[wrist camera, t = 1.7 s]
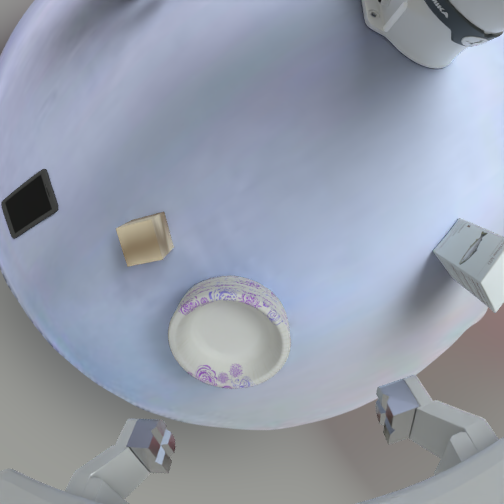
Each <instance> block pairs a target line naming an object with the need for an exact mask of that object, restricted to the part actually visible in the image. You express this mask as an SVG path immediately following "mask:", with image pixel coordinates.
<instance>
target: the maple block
mask: <svg viewBox="0 0 504 504" xmlns="http://www.w3.org/2000/svg"><path fill="white" fill-rule="evenodd" d="M116 231H117V234H118V238H119V241H120V244H121V247H122V251H123V254H124V257H125V260H126V263H127V266H128V267H129V266H134V265H139V264H143V263H148V262H153V261H158V260H163V259H164V258H165V257H166V256H167V254H168V253H169V252H170V251H171V250H172V249H173V248H174V246H173V242H172V239H171V235H170V232H169V228H168V224H167V221H166V217H165V213H164V212H161V213H157V214H153V215H149V216H145V217H142V218H138V219H134V220H131V221H129V222H127V223H125V224H124V225H122V226H120V227H118V228H116Z"/></svg>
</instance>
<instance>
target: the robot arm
mask: <svg viewBox="0 0 504 504" xmlns="http://www.w3.org/2000/svg"><path fill="white" fill-rule="evenodd" d="M361 1H362V7H363V13H364V19H365V23H366V25H367V26H368V27H369V28H371V29H372V30H374V31H375V32H377V33H379V34H381V35H383V36H385V37H386V38H387V39H388V40H389V41H390V42H391V43H392V44H393V45H394V46H395V47H396V48H397V49H398V50H399V51H400V52H401V53H403V54H404V55H405V56H406V57H408V58H409V59H411V60H412V61H414V62H416V63H418V64H420V65H422V66H425V67H429V68H436V69H437V68H444V67H446V66H448V65H450V64H451V63H452V61H453V60H454V59H455V58H456V57H457V56H458V55H459V54H460V53H461V52H462V51H464V50H465V49H466V48H468V47H471V46H477V45H480V44H483V43H486V42H487V41H489V40H492V39H494V38H496V37H498V36H500V35H501V34H502V33H503V31H504V0H361ZM371 14H372V15H374V16H375V17H373V16H372V15H371ZM376 394H377V397H378V400H377V402H376V414H377V418H378V421H379V423H380V424H381V425H383V426H384V431H383V433H384V435H385V438H386V440H387V443H388V444H393V443H395V442H398V441H402V440H405V439H408V438H409V439H410V440H412V441H413V442H415V443H417V444H418V445H420V446H421V447H423V448H424V449H426V450H428V451H429V452H431V453H432V454H434V455H436V456H437V457H439V458H441V460H440V462H439V464H438V466H437V468H436V470H435V472H434V474H435V476H432V477H430V478H428V479H426V480H423V481H421V482H418V483H416V484H413V485H411V486H408V487H406V488H403V489H400V490H398V491H395V492H392V493H389V494H386V495H383V496H380V497H377V498H373V499H370V500H367V501H363V502H360V503H356V504H504V437H503V438H501V439H498V437H497V436H496V434H495V433H494V431H493V430H492V428H491V427H490V426H489V424H488V423H487V421H486V420H485V419H484V418H482V417H479V416H477V415H474V414H472V413H469V412H466V411H463V410H461V409H458V408H456V407H453V406H451V405H448V404H445V403H443V402H440V401H438V400H435V401H433V400H432V399H431V397H430V396H429V394H428V392H427V391H426V389H425V388H424V387H423V385H422V383H421V382H420V380H419V379H418V378H417V376H416V375H412V376H409V377H406V378H403V379H400V380H397V381H394V382H392V383H389V384H386V385H382V386H379V387H378V388H377V393H376ZM166 427H167V425H166V423H165V422H164V420H154V419H153V420H152V419H131V418H130V419H128V420H127V421H126V423H125V425H124V427H123V429H122V431H121V434H120V436H119V438H118V440H117V442H116V444H115V446H111V447H109V448H108V449H106V450H105V451H104V452H102V453H101V454H99V455H98V456H96V457H95V458H94V459H92V460H91V461H89V462H88V463H86V464H85V465H83V466H82V467H80V468H79V469H77V470H76V471H75V472H74V474H73V476H72V478H71V480H70V482H69V484H68V486H67V488H66V490H65V491H62V490H59V489H56V488H54V487H51V486H49V485H46V484H44V483H42V482H39V481H37V480H35V479H33V478H30V477H28V476H26V475H24V474H22V473H20V472H18V471H16V470H13V469H6V470H3V471H1V472H0V504H129V503H128V502H127V501H125V500H124V499H125V498H126V497H127V496H128V495H129V494H130V493H131V492H132V491H133V490H134V489H135V488H136V487H137V486H138V485H139V484H140V483H141V482H142V481H143V480H144V479H145V478H146V477H147V476H148V475H149V474H150V472H152V473H169V470H170V466H171V463H172V460H171V459H170V456H171V455H172V454H173V453H174V451H175V439H174V436H173V434H172V433H171V432H170V431H168V430H166Z"/></svg>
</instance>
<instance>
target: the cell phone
mask: <svg viewBox="0 0 504 504" xmlns="http://www.w3.org/2000/svg"><path fill="white" fill-rule="evenodd" d="M1 205H2V209H3V213H4V216H5V219H6V222H7V225H8V228H9V231H10V234H11V236H12V238H16V237H18V236H19V235H21V234H22V233H24V232H25V231H27V230H28V229H30V228H31V227H33V226H35V225H36V224H38V223H39V222H41V221H42V220H44V219H46V218H47V217H49V216H51V215H52V214H54V213H55V212H56V211H57V210H58V203H57V200H56V197H55V194H54V191H53V188H52V185H51V182H50V179H49V175H48V172H47V170H46V169H43V170H41V171H39V172H38V173H37V174H35V175H34V176H33V177H31V178H30V179H29V180H27V181H26V182H25V183H24V184H22V185H21V186H20V187H19V188H17V189H16V190H15V191H14V192H13V193H11V194H10V195H9V196H8V197H7V198H5V199H4V200H3V201H2V204H1Z"/></svg>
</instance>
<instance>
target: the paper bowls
mask: <svg viewBox="0 0 504 504" xmlns="http://www.w3.org/2000/svg"><path fill="white" fill-rule="evenodd" d="M168 341H169V346H170V349H171V351H172V354H173V355H174V357H175V359H176V360H177V362H178V363H179V364H180V366H181V367H182V368H183V369H184V370H185V371H186V372H187V373H189V374H190V375H191V376H193V377H195V378H196V379H198V380H200V381H202V382H204V383H206V384H210V385H213V386H217V387H222V388H229V389H236V388H237V389H238V388H247V387H251V386H255V385H258V384H260V383H263V382H265V381H267V380H268V379H270V378H271V377H273V376H274V375H275V374H276V373H277V372H278V371H279V370H280V369H281V368H282V367H283V365H284V364H285V362H286V360H287V358H288V355H289V352H290V347H291V338H290V329H289V323H288V318H287V315H286V312H285V309H284V307H283V305H282V304H281V302H280V301H279V299H278V298H277V297H276V296H275V295H274V294H273V293H272V292H271V291H270V290H269V289H268V288H266V287H264V286H263V285H261V284H260V283H258V282H255V281H253V280H250V279H247V278H244V277H238V276H219V277H213V278H210V279H207V280H205V281H202V282H200V283H197V284H196V285H194V286H193V287H192V288H191V289H190V290H189V291H188V292H187V293H186V294H185V295H184V297H183V298H182V299H181V301H180V303H179V305H178V307H177V309H176V311H175V312H174V314H173V316H172V318H171V320H170V324H169V329H168Z"/></svg>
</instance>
